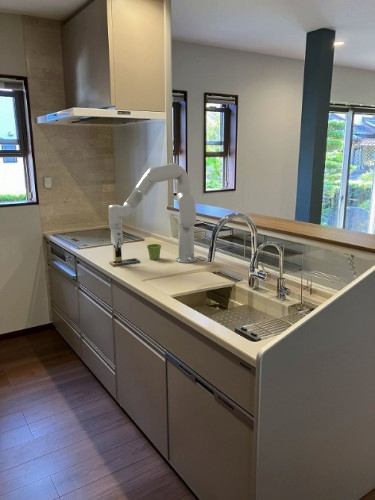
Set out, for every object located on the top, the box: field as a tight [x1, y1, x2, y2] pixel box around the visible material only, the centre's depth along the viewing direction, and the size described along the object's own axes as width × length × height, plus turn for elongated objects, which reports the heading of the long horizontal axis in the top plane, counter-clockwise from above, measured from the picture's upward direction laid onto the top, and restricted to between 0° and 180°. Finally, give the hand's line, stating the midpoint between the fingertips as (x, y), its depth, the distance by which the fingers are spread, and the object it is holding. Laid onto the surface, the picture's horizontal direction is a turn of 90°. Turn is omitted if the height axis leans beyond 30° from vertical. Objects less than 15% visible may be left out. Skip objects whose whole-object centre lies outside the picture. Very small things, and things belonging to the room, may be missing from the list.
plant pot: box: [146, 243, 162, 261], centre depth 253 cm, size 9×9×9 cm
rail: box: [109, 257, 141, 267], centre depth 245 cm, size 17×7×1 cm, turn 117°
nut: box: [112, 246, 123, 261], centre depth 242 cm, size 4×4×8 cm
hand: (117, 255), depth 242 cm, fingers closed on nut, 4 cm apart
